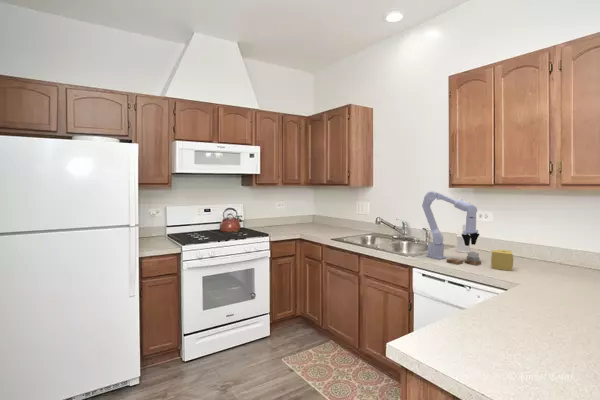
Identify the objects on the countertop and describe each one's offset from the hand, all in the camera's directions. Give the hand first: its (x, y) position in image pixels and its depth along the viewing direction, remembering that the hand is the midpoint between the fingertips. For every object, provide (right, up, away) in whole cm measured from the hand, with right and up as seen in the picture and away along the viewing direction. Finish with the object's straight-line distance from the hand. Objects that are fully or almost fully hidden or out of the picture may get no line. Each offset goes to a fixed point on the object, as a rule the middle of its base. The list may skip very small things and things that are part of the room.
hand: (470, 245), depth 209 cm
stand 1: (-13, -10, -6) cm, 18 cm away
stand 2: (-2, -10, -8) cm, 13 cm away
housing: (-2, -8, -8) cm, 12 cm away
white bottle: (+10, -9, +28) cm, 31 cm away
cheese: (+10, -11, -17) cm, 23 cm away
